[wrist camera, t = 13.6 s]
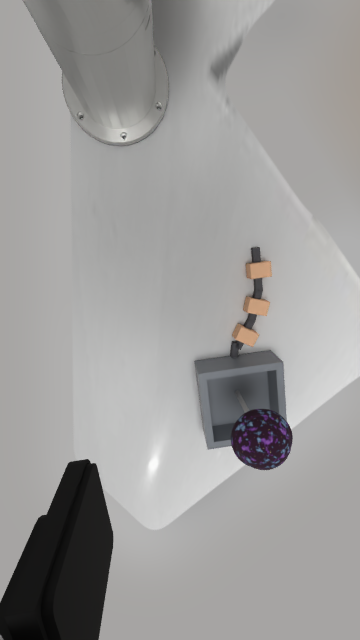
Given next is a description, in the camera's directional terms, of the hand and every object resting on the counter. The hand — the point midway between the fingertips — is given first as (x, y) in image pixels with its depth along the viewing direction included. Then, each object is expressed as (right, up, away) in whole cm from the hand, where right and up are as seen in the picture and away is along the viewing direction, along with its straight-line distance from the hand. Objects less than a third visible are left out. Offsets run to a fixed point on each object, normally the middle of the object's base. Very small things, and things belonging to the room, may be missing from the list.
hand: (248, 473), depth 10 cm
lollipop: (+7, -6, +37) cm, 38 cm away
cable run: (+8, +7, +35) cm, 36 cm away
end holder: (+7, -6, +38) cm, 39 cm away
